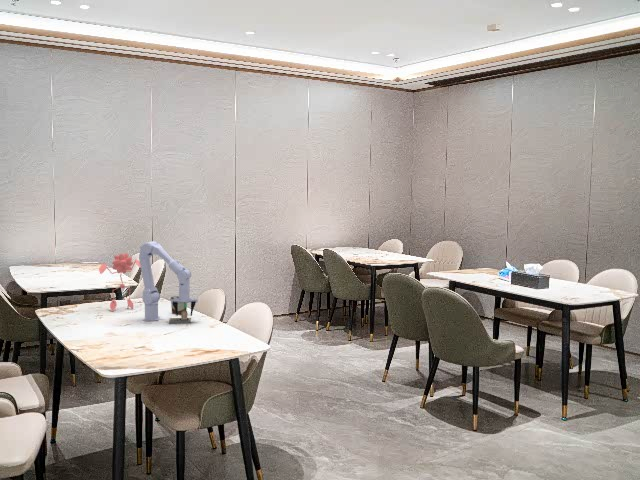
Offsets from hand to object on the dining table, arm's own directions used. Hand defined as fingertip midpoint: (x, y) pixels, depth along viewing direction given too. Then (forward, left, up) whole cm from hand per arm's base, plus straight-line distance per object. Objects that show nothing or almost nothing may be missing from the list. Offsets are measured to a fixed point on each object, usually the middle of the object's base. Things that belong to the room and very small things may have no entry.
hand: (184, 315), depth 346 cm
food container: (-22, -3, -4) cm, 23 cm away
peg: (0, 0, -4) cm, 4 cm away
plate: (0, -2, -4) cm, 4 cm away
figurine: (-34, -38, -4) cm, 51 cm away
